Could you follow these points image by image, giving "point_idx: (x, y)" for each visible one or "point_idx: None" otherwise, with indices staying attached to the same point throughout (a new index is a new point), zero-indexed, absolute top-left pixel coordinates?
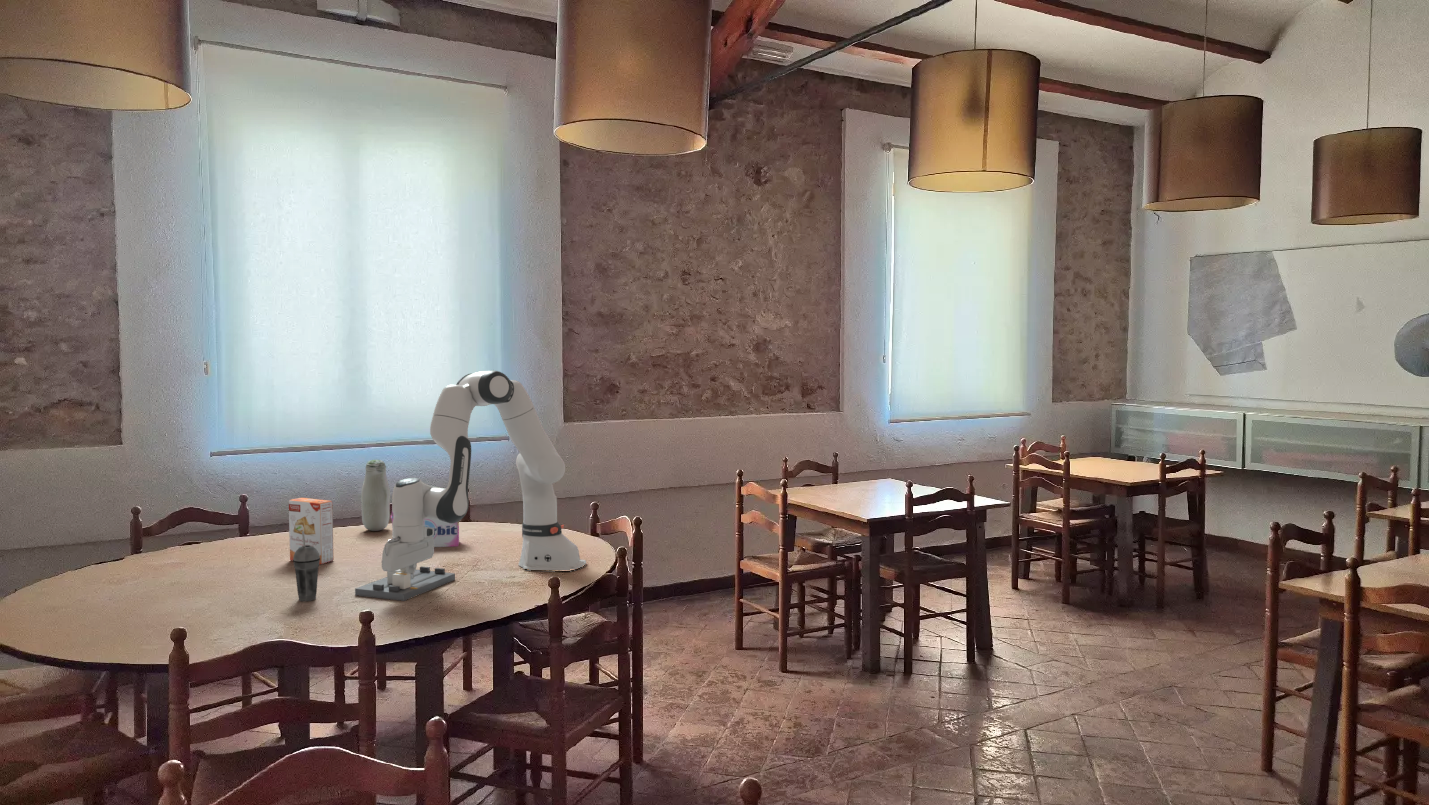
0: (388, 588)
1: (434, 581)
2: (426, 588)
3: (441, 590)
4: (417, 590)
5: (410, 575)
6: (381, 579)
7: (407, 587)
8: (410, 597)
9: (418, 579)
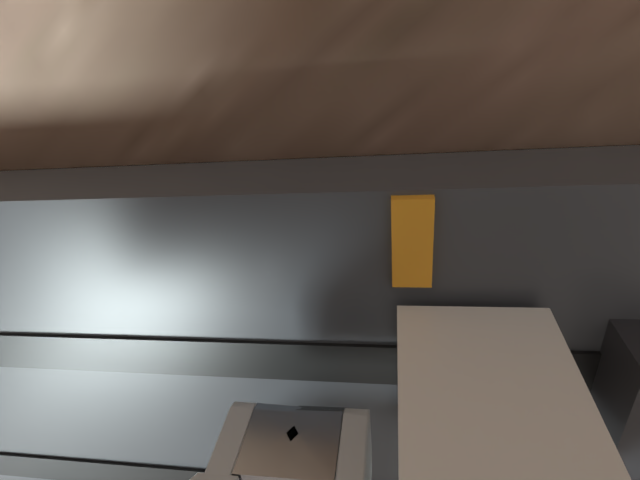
0: None
1: (14, 208)
2: (209, 176)
3: (71, 24)
4: (404, 178)
5: (301, 461)
6: None
7: (469, 310)
8: (561, 151)
9: (94, 393)
